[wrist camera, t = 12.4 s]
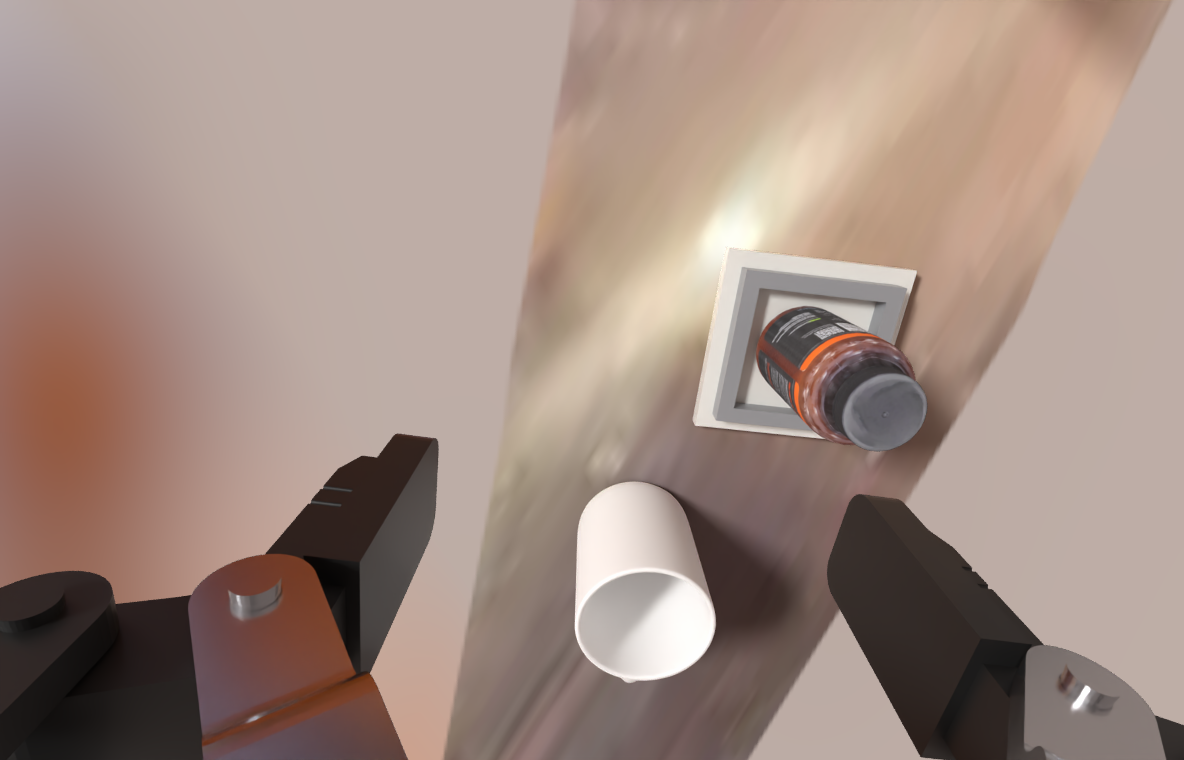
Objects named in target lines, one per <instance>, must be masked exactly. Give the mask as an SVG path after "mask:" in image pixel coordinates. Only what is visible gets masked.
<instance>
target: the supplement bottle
mask: <svg viewBox="0 0 1184 760" xmlns="http://www.w3.org/2000/svg"><path fill="white" fill-rule="evenodd" d="M756 360H757V365H758V368H759V371H760V373H761V375H762V376H763V378H764V379H765V381H766V382H767V383H768V384H769V385H770V386H771V387H772V388H773V389H774V391H775V392H776V393H777V394H778V395H779V396H780V397H781V398H782V399H783V400H784V401H785V402H786V403H787V404H788V405H789V406H790V407H791V408H792V409H793V411H794V412H795V413H796V414H797V415H798V416H799V417H800V418H801V419H802V420H803V421H804V422H805V423H806V424H807V425H808V426H809V427H810V428H811V429H812V430H813V431H814V432H815V433H817V434H818V435H819V436H821V437H823V438H825V439H826V440H829V441H831V442H835V443H839V444H843V445H857V446H859V447H861V448H863V449H866V450H870V451H886V450H891V449H894V448H896V447H899V446H901V445H903V444H904V443H906V442H908V441H909V440H910V439H911V438H912V437H913V436H914V435H915V434H916V433H917V432H918V431H919V429H920V428H921V426H922V424H923V422H924V420H925V417H926V413H927V398H926V395H925V393H924V391H923V389H922V388H921V386H920V385H919V384H918V383H917V382H916V380H915V374H914V371H913V368H912V366H911V364H910V362H909V360H908V358H907V357H906V356H905V355H904V354H903V352H902V351H900V350H899V349H898V348H897V347H895V346H894V345H892V344H891V343H889V342H887V341H885V340H883V339H881V338H880V337H878V336H876V335H874V334H872V333H870V332H868V331H866V330H864V329H862V328H860V327H858V326H856V325H854V324H852V323H850V322H849V321H847V320H845V319H843V318H841V317H839V316H837V315H835V314H833V313H831V312H829V311H827V310H824V309H821V308H818V307H813V306H802V307H796V308H791V309H789V310H786V311H784V312H782V313H781V314H779V315H777V316H776V317H775V318H774V319H772V320H771V321H770V322H769V323H768V325H767V326H766V327H765V328H764V330H763V332H762V334H761V336H760V338H759V341H758V344H757V348H756Z"/></svg>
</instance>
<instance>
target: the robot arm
mask: <svg viewBox="0 0 1184 760" xmlns="http://www.w3.org/2000/svg"><path fill="white" fill-rule="evenodd" d="M437 470H438V441H437V439H436V438H428V437H420V436H413V435H405V434H395V435H394V436H393V437H392V439H391V440H390V442H389V443H388V444H387V445H386V447H385V448H384V449H383V451H382V452H381V453H380V455H379V456H378V457H377V458H375V457H368V456H361V457H359V458H357V459H355V460H353V461H351V462H350V463H348V464H346V465H344V466H342V467H340V468H339V469H338V470H337V471H336V472H335V473H334V474H333V475H332V476H331V478H330V479H329V480H328V481H327V482H326V484H325V485H324V488H323V489H320V491H319V492H318V493H317V494H316V495H315V496H314V498H313V499H312V500H311V504H308V505H307V506H306V507H305V508H304V509H303V510H302V512H301V513H300V514H299V515H298V516H297V517H296V519H295V520H294V521H293V522H292V523H291V525H290V526H289V527H288V528H287V529H286V530H285V531H284V533H283V534H282V535H281V536H280V537H279V539H278V540H277V541H276V542H275V543H274V544H273V545H272V547H271V548H270V549H269V550H268V551H267V552H266V554H265V555H257V556H252V557H247V558H244V559H241V560H237V561H235V562H232V563H230V564H228V565H225V566H224V567H222V568H220V569H218V570H216V571H215V572H213V573H212V574H210V575H209V576H208V577H206V578H205V579H204V580H203V581H202V582H201V583H200V584H199V585H198V586H197V587H196V588H195V590H194V591H193V593H192V595H189V596H182V597H175V598H166V599H158V600H148V601H139V602H130V603H122V604H115V600H114V595H113V590H112V587H111V585H110V583H109V582H108V581H107V580H106V579H105V578H104V577H102V576H100V575H97V574H94V573H90V572H84V571H64V572H55V573H48V574H43V575H38V576H34V577H30V578H27V579H24V580H20V581H17V582H14V583H12V584H9V585H7V586H4V587H1V588H0V760H408V758H407V756H406V754H405V751H404V749H403V746H402V744H401V742H400V739H399V737H398V734H397V732H396V730H395V727H394V725H393V723H392V720H391V718H390V715H389V713H388V711H387V708H386V706H385V704H384V701H383V699H382V696H381V694H380V692H379V689H378V687H377V685H376V683H375V681H374V679H373V677H372V676H371V675H370V672H371V670H372V667H373V665H374V663H375V660H376V658H377V656H378V654H379V652H380V649H381V647H382V645H383V643H384V640H385V638H386V636H387V634H388V631H389V629H390V627H391V625H392V623H393V620H394V618H395V616H396V614H397V611H398V609H399V607H400V605H401V603H402V600H403V598H404V596H405V594H406V592H407V589H408V587H409V585H410V582H411V580H412V578H413V576H414V574H415V571H416V569H417V567H418V564H419V563H420V560H421V558H422V556H423V554H424V551H425V549H426V547H427V545H428V542H429V540H430V536H431V533H432V529H433V524H434V519H435V511H436V491H437ZM827 578H828V585H829V589H830V592H831V594H832V596H833V598H834V599H835V601H836V603H837V605H838V607H839V609H840V610H841V612H842V614H843V616H844V618H845V619H846V621H847V623H848V625H849V627H850V629H851V630H852V632H853V634H854V636H855V638H856V640H857V641H858V643H859V645H860V647H861V649H862V650H863V652H864V654H865V656H866V658H867V660H868V662H869V663H870V665H871V667H872V669H873V671H874V673H875V674H876V676H877V678H878V679H879V682H880V683H881V685H882V687H883V689H884V691H885V693H886V694H887V696H888V698H889V700H890V702H891V703H892V705H893V707H894V709H895V711H896V713H897V714H898V716H899V718H900V720H901V722H902V724H903V726H904V727H905V729H906V731H907V733H908V735H909V736H910V738H911V740H912V742H913V744H914V745H915V747H916V749H917V751H918V753H919V755H920V757H924V758H933V759H943V760H1184V725H1181V724H1178V723H1176V722H1173V721H1170V720H1167V719H1164V718H1160V717H1158V716H1155V715H1154V713H1153V712H1152V710H1151V708H1150V707H1149V705H1148V704H1147V703H1146V702H1145V701H1144V699H1143V698H1141V696H1140V695H1139V694H1138V693H1137V692H1136V691H1135V690H1134V689H1132V688H1131V687H1130V686H1129V685H1128V684H1127V683H1126V682H1124V681H1123V680H1122V679H1120V678H1119V677H1117V676H1116V675H1115V674H1113V673H1112V672H1110V671H1109V670H1107V669H1106V668H1104V667H1102V666H1101V665H1099V664H1097V663H1096V662H1094V661H1092V660H1090V659H1087V658H1086V657H1083V656H1081V655H1079V654H1077V653H1074V652H1071V651H1069V650H1066V649H1062V648H1058V647H1054V646H1047V645H1043V643H1042V642H1041V641H1040V640H1039V639H1038V638H1037V637H1036V636H1035V635H1034V634H1033V633H1032V632H1031V631H1030V630H1029V628H1028V627H1027V626H1026V625H1025V624H1024V623H1023V622H1022V621H1021V620H1020V619H1019V618H1018V617H1017V616H1016V615H1015V613H1014V612H1013V611H1012V610H1011V609H1010V608H1009V607H1008V606H1007V605H1006V604H1005V603H1004V602H1003V601H1002V599H1001V598H1000V597H999V596H998V595H997V594H996V593H995V592H994V591H993V590H992V589H988V584H986V582H984V580H983V579H982V578H981V577H980V576H979V575H978V574H977V573H976V572H972V568H971V566H970V565H969V564H968V563H967V562H966V561H965V560H964V559H963V558H962V557H961V555H960V554H959V553H958V552H957V551H956V550H955V549H954V548H953V547H952V546H950V545H949V544H947V543H946V542H945V541H943V540H942V539H940V538H939V537H937V536H936V535H935V534H933V533H932V532H930V531H929V530H928V529H927V528H926V527H925V526H924V525H923V524H922V523H921V522H920V520H919V519H918V518H917V517H916V516H915V515H914V514H913V513H912V512H911V510H910V509H909V508H908V507H907V506H906V505H905V504H904V503H903V502H902V501H900V500H898V499H893V498H885V497H877V496H870V495H862V494H858V495H856V496H854V497H853V498H852V499H851V501H850V502H849V505H848V507H847V510H846V513H845V516H844V518H843V521H842V524H841V527H840V530H839V532H838V535H837V538H836V541H835V544H834V546H833V549H832V552H831V555H830V558H829V561H828V568H827Z"/></svg>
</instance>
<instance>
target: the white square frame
mask: <svg viewBox="0 0 1184 760" xmlns="http://www.w3.org/2000/svg"><path fill="white" fill-rule="evenodd" d="M916 273H917V271H916V270H912V269H908V268H899V267H891V266H882V265H874V264H865V263H857V262H849V261H840V260H832V259H823V258H815V257H806V256H798V255H789V254H781V253H773V252H764V251H756V250H747V249H739V248H730V247H725V253H724V258H723V263H722V268H721V274H720V279H719V284H718V289H717V295H716V300H715V305H714V310H713V316H712V321H711V326H710V331H709V337H708V342H707V347H706V352H705V358H704V363H703V368H702V373H701V379H700V384H699V389H698V394H697V400H696V405H695V410H694V415H693V421H694V424H695V425H696V426H705V427H715V428H725V429H734V430H744V431H753V432H763V433H773V434H782V435H792V436H802V437H811V438H821V439H825V438H823V437H821V436H819V435H818V434H817V433H815V432H814V431H813V430H812V429H811V428H810V427H809V426H808V425H807V424H806V423H805V422H804V421H803V420H802V419H801V418H800V417H799V416H798V415H797V414H796V413H795V412H794V411H793V409H792V408H791V407H790V406H789V405H788V404H787V403H786V402H785V401H784V400H783V399H782V398H781V397H780V396H779V395H778V394H777V393H776V392H775V391H774V389H773V388H772V387H771V386H770V385H769V384H768V383H767V382H766V381H765V379H764V378H763V376H762V375H761V373H760V371H759V368H758V365H757V360H756V348H757V344H758V341H759V338H760V336H761V334H762V332H763V330H764V328H765V327H766V326H767V325H768V323H769V322H770V321H771V320H772V319H774V318H775V317H776V316H777V315H779V314H781V313H782V312H784V311H786V310H789V309H791V308H796V307H802V306H813V307H818V308H821V309H824V310H827V311H829V312H831V313H833V314H835V315H837V316H839V317H841V318H843V319H845V320H847V321H849V322H850V323H852V324H854V325H856V326H858V327H860V328H862V329H864V330H866V331H868V332H870V333H872V334H874V335H876V336H878V337H880V338H881V339H883V340H885V341H887V342H889V343H891V344H892V345H895V342H896V339H897V336H898V332H899V329H900V326H901V322H902V319H903V316H904V313H905V309H906V306H907V303H908V300H909V296H910V293H911V290H912V286H913V283H914V280H915V277H916Z"/></svg>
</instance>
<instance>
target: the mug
mask: <svg viewBox="0 0 1184 760" xmlns="http://www.w3.org/2000/svg"><path fill="white" fill-rule="evenodd" d="M715 627H716V615H715V610H714V606H713V603H712V600H711V596H710V593H709V590H708V586H707V583H706V579H705V576H704V573H703V569H702V566H701V562H700V559H699V556H698V552H697V549H696V546H695V542H694V539H693V535H692V532H691V529H690V525H689V522H688V519H687V517H686V514H685V512H684V510H683V508H682V507H681V505H680V504H679V502H678V501H677V500H676V499H675V498H674V497H673V496H672V495H671V494H670V493H668V492H667V491H665V490H664V489H662V488H660V487H658V486H655V485H653V484H649V483H644V482H624V483H619V484H616V485H613V486H610V487H608V488H606V489H604V490H603V491H601V492H600V493H598V494H597V495H596V496H595V497H594V498H593V499H592V500H591V501H590V502H589V503H588V504H587V506H586V507H585V509H584V511H583V513H582V516H581V519H580V522H579V527H578V538H577V572H576V606H575V632H576V637H577V641H578V643H579V645H580V647H581V649H582V651H583V652H584V654H585V655H586V657H587V658H588V659H589V660H590V661H591V662H592V663H593V664H595V665H596V666H597V667H599V668H600V669H602V670H603V671H605V672H607V673H609V674H611V675H614V676H617V677H620V678H622V679H623V680H624V681H625V682H628V683H632V682H635V681H637V680H641V681H646V680H656V679H662V678H666V677H669V676H672V675H675V674H677V673H680V672H681V671H683V670H685V669H687V668H688V667H690V666H691V665H693V664H694V663H695V662H696V661H698V660H699V659H700V658H701V657H702V655H703V654H704V653H705V652H706V650H707V649H708V647H709V646H710V644H711V642H712V639H713V636H714V633H715Z"/></svg>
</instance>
